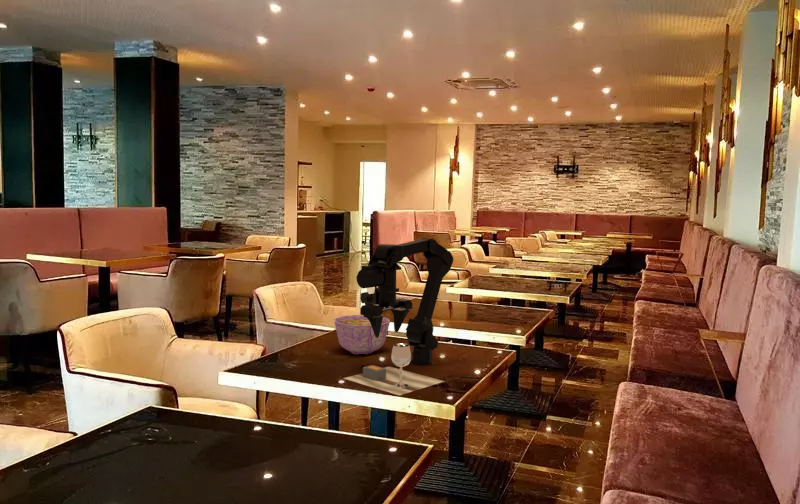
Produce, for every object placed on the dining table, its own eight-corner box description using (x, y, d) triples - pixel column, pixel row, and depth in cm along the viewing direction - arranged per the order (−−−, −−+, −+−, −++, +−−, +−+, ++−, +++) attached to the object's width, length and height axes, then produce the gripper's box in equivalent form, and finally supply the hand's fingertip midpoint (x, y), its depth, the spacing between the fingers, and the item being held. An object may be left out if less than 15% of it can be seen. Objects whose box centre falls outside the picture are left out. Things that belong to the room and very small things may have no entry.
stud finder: (372, 374, 201) (372, 364, 201) (386, 378, 197) (386, 368, 197) (362, 376, 198) (362, 366, 198) (376, 381, 194) (376, 370, 194)
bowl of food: (388, 359, 224) (389, 326, 223) (330, 358, 224) (330, 324, 223) (390, 346, 244) (390, 315, 243) (336, 344, 244) (337, 314, 243)
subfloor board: (388, 369, 211) (389, 366, 211) (444, 384, 196) (444, 381, 196) (343, 381, 197) (343, 378, 196) (399, 398, 181) (399, 395, 181)
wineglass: (408, 389, 187) (409, 348, 186) (388, 387, 188) (389, 346, 187) (412, 383, 192) (413, 343, 191) (393, 382, 194) (393, 342, 192)
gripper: (387, 279, 215) (386, 326, 217) (347, 285, 201) (347, 335, 202) (413, 282, 208) (413, 331, 209) (374, 289, 194) (373, 341, 195)
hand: (386, 334), depth 204 cm, fingers open, 9 cm apart
